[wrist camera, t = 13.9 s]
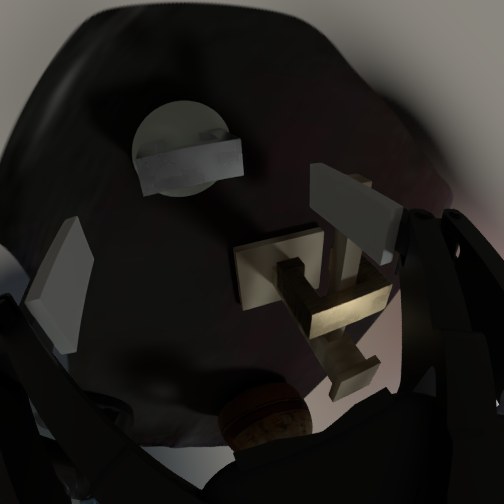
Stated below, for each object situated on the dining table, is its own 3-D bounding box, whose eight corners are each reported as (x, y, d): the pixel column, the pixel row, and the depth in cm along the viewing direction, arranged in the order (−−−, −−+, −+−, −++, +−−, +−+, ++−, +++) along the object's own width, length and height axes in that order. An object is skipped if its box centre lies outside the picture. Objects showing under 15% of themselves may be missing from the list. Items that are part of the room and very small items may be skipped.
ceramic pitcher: (309, 379, 61) (366, 479, 37) (255, 418, 66) (295, 510, 42) (253, 367, 50) (316, 506, 26) (196, 413, 55) (234, 529, 31)
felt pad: (143, 204, 27) (143, 206, 27) (124, 112, 22) (123, 113, 21) (234, 184, 30) (235, 186, 29) (225, 93, 24) (226, 94, 24)
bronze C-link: (276, 286, 27) (309, 339, 21) (276, 262, 25) (312, 315, 20) (345, 266, 29) (384, 308, 23) (349, 242, 27) (392, 284, 21)
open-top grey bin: (146, 172, 25) (143, 196, 20) (140, 143, 24) (135, 159, 18) (224, 156, 27) (243, 175, 21) (221, 128, 25) (240, 138, 20)
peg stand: (240, 305, 40) (295, 425, 24) (220, 146, 27) (322, 239, 11) (314, 283, 42) (388, 381, 27) (322, 135, 30) (466, 202, 14)
